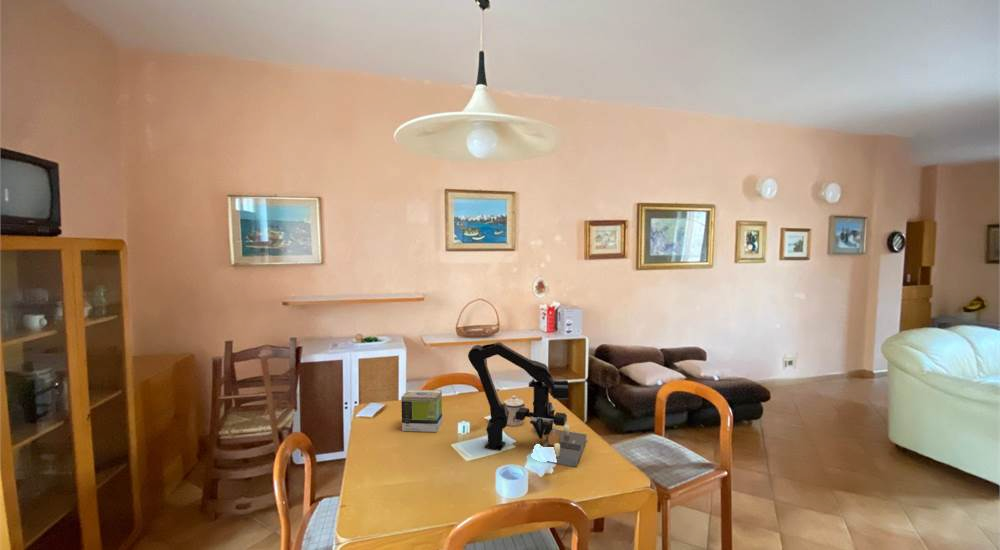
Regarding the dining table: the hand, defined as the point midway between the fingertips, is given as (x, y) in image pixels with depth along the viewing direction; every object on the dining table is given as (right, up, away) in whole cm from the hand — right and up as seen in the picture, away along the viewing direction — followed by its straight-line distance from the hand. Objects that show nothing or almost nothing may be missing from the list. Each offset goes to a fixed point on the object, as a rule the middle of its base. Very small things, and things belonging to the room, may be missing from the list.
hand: (540, 438), depth 157 cm
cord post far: (+11, -1, +5) cm, 12 cm away
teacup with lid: (-9, -3, +25) cm, 27 cm away
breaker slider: (+5, -1, -2) cm, 5 cm away
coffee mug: (+3, -3, +17) cm, 17 cm away
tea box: (-48, -3, +19) cm, 52 cm away
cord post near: (+5, -2, -11) cm, 12 cm away
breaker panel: (+8, -4, -1) cm, 9 cm away
